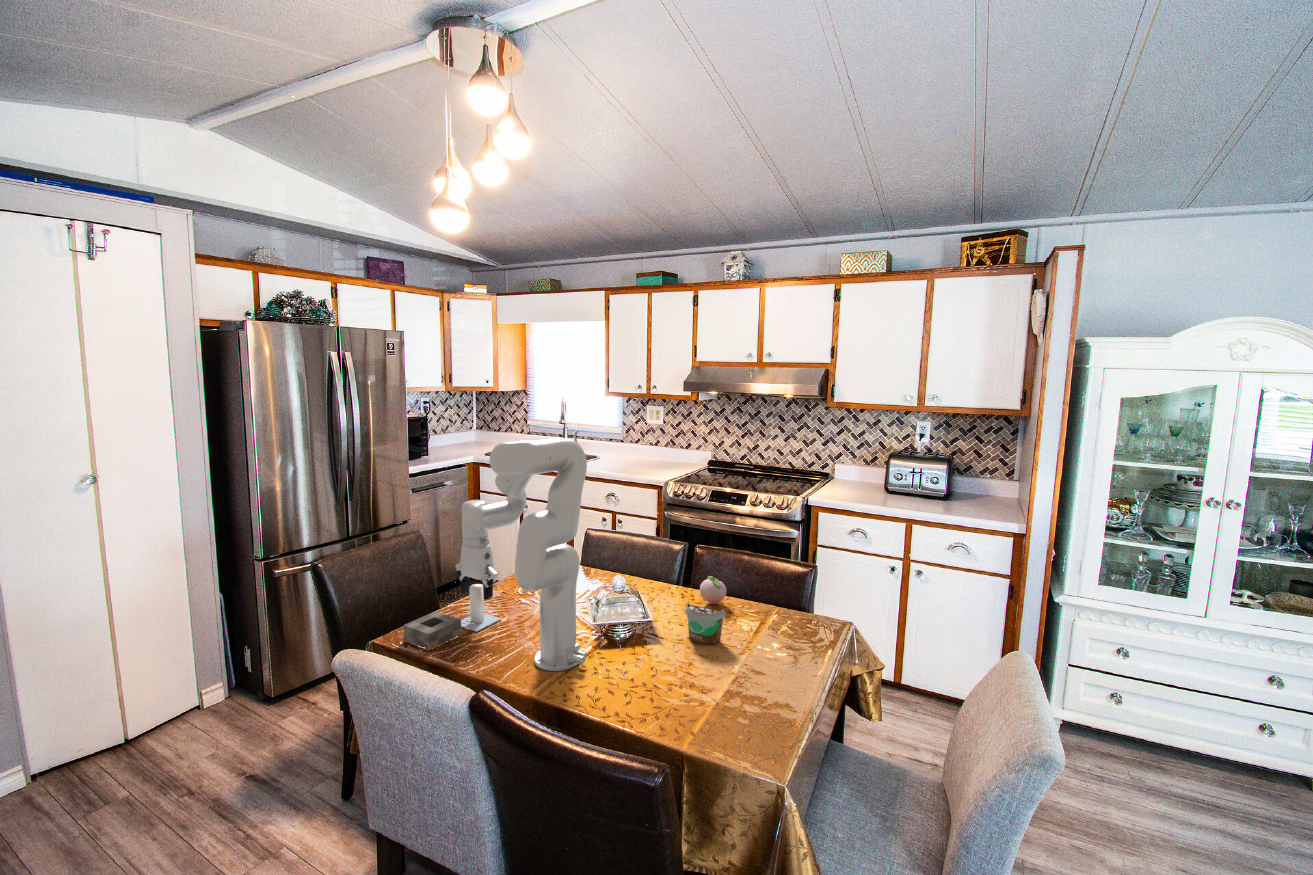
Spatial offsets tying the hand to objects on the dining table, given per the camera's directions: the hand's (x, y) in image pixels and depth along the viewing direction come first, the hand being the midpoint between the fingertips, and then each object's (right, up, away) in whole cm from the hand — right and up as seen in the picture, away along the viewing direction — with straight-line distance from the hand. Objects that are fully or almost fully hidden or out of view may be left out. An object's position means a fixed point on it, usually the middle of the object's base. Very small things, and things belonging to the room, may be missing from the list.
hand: (476, 595), depth 171 cm
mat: (0, -9, +1) cm, 9 cm away
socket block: (-10, -10, -10) cm, 17 cm away
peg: (0, -8, +1) cm, 8 cm away
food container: (+68, -11, -10) cm, 70 cm away
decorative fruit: (+74, -8, +17) cm, 76 cm away
